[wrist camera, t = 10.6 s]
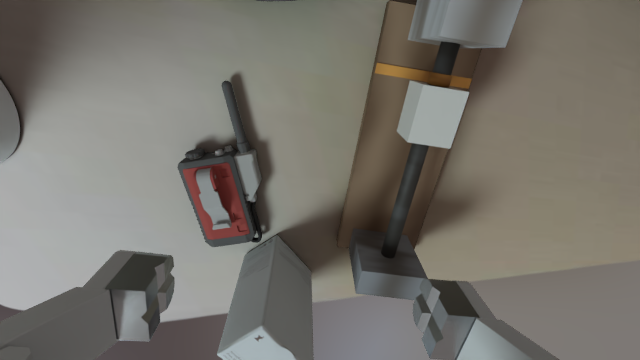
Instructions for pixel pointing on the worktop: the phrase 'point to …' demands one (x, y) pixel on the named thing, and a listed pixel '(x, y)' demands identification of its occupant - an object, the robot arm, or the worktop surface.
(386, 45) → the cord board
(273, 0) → the perforated stone tool
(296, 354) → the skincare box
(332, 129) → the worktop surface
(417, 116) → the sleeve
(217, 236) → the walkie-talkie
